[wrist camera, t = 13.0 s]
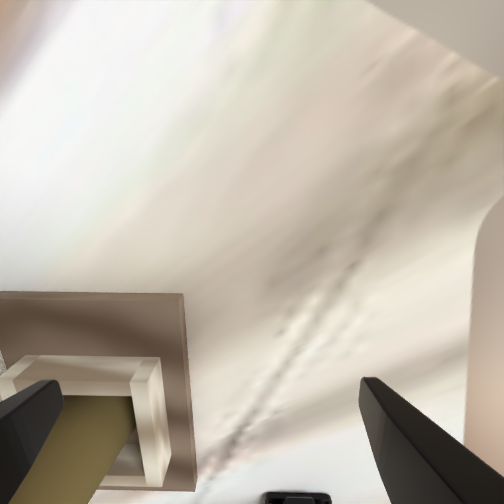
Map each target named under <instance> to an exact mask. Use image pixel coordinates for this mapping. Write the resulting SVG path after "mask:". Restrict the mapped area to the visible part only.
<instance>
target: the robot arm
mask: <svg viewBox="0 0 504 504" xmlns="http://www.w3.org/2000/svg"><path fill="white" fill-rule="evenodd" d="M63 407H64V398H63V394H62V391H61V388H60V384H59V382H58V381H57V380H55V379H43V380H40V381H38V382H36V383H34V384H32V385H30V386H29V387H27V388H25V389H23V390H21V391H19V392H18V393H16V394H14V395H12V396H10V397H8V398H7V399H5V400H3V401H1V402H0V504H9V502H10V501H11V499H12V498H13V496H14V494H15V493H16V491H17V490H18V488H19V487H20V485H21V483H22V482H23V480H24V479H25V477H26V475H27V474H28V472H29V471H30V469H31V467H32V465H33V464H34V462H35V460H36V458H37V456H38V455H39V453H40V451H41V449H42V447H43V445H44V443H45V442H46V440H47V438H48V436H49V434H50V432H51V430H52V428H53V427H54V425H55V423H56V421H57V419H58V417H59V415H60V413H61V412H62V409H63ZM359 408H360V411H361V415H362V418H363V421H364V425H365V428H366V432H367V435H368V438H369V442H370V445H371V448H372V452H373V455H374V459H375V462H376V465H377V468H378V471H379V473H380V476H381V479H382V481H383V484H384V486H385V489H386V491H387V494H388V496H389V499H390V501H391V504H504V477H503V476H502V475H500V474H499V473H498V472H496V471H495V470H494V469H493V468H491V467H490V466H489V465H487V464H486V463H485V462H484V461H482V460H481V459H480V458H479V457H478V456H476V455H475V454H474V453H472V452H471V451H470V450H469V449H467V448H466V447H465V446H464V445H462V444H461V443H460V442H458V441H457V440H456V439H455V438H453V437H452V436H451V435H450V434H448V433H447V432H446V431H445V430H443V429H442V428H441V427H439V426H438V425H437V424H436V423H434V422H433V421H432V420H431V419H429V418H428V417H427V416H425V415H424V414H423V413H422V412H420V411H419V410H418V409H417V408H415V407H414V406H413V405H411V404H410V403H409V402H408V401H406V400H405V399H404V398H403V397H401V396H400V395H399V394H398V393H396V392H395V391H394V390H392V389H391V388H390V387H389V386H387V385H386V384H385V383H384V382H382V381H381V380H380V379H378V378H377V377H363V378H362V379H361V383H360V391H359ZM265 504H332V501H331V497H330V496H329V495H326V494H280V493H269V494H267V495H266V499H265Z"/></svg>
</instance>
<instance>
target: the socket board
mask: <svg viewBox="0 0 504 504" xmlns="http://www.w3.org/2000/svg"><path fill="white" fill-rule="evenodd" d="M0 349H1V352H2V355H3V358H4V361H5V364H6V367H7V370H6V371H5V372H4V373H3V374H2V375H0V395H1V398H2V401H3V400H5V399H7V398H8V397H10V396H12V395H14V394H16V393H18V392H19V391H21V390H23V389H25V388H27V387H29V386H30V385H32V384H34V383H36V382H38V381H40V380H43V379H55V380H57V381H58V382H59V384H60V388H61V391H62V394H63V398H64V402H65V400H66V398H67V397H68V395H95V396H132V400H133V406H134V412H135V418H136V424H137V426H136V427H135V429H134V431H133V432H132V434H131V435H130V437H129V439H128V440H127V442H126V443H125V445H124V447H123V448H122V450H121V451H120V453H119V455H118V456H117V458H116V459H115V461H114V463H113V464H112V466H111V467H110V469H109V471H108V472H107V474H106V475H105V477H104V478H103V480H102V482H101V483H100V485H99V486H98V488H97V489H101V490H147V491H192V492H195V488H196V483H197V465H196V452H195V440H194V427H193V414H192V402H191V389H190V376H189V364H188V351H187V338H186V326H185V313H184V300H183V294H161V293H90V292H19V291H0Z"/></svg>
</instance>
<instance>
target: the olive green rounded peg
mask: <svg viewBox="0 0 504 504" xmlns="http://www.w3.org/2000/svg"><path fill="white" fill-rule="evenodd" d="M136 426H137V424H136V418H135V412H134V406H133V400H132V396H95V395H68V397H67V398H66V400H65V402H64V407H63V409H62V412H61V413H60V415H59V417H58V419H57V421H56V423H55V425H54V427H53V428H52V430H51V432H50V434H49V436H48V438H47V440H46V442H45V443H44V445H43V447H42V449H41V451H40V453H39V455H38V456H37V458H36V460H35V462H34V464H33V465H32V467H31V469H30V471H29V472H28V474H27V475H26V477H25V479H24V480H23V482H22V483H21V485H20V487H19V488H18V490H17V491H16V493H15V494H14V496H13V498H12V499H11V501H10V502H9V504H88V502H89V501H90V499H91V498H92V496H93V494H94V493H95V491H96V490H97V488H98V486H99V485H100V483H101V482H102V480H103V478H104V477H105V475H106V474H107V472H108V471H109V469H110V467H111V466H112V464H113V463H114V461H115V459H116V458H117V456H118V455H119V453H120V451H121V450H122V448H123V447H124V445H125V443H126V442H127V440H128V439H129V437H130V435H131V434H132V432H133V431H134V429H135V427H136Z"/></svg>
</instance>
